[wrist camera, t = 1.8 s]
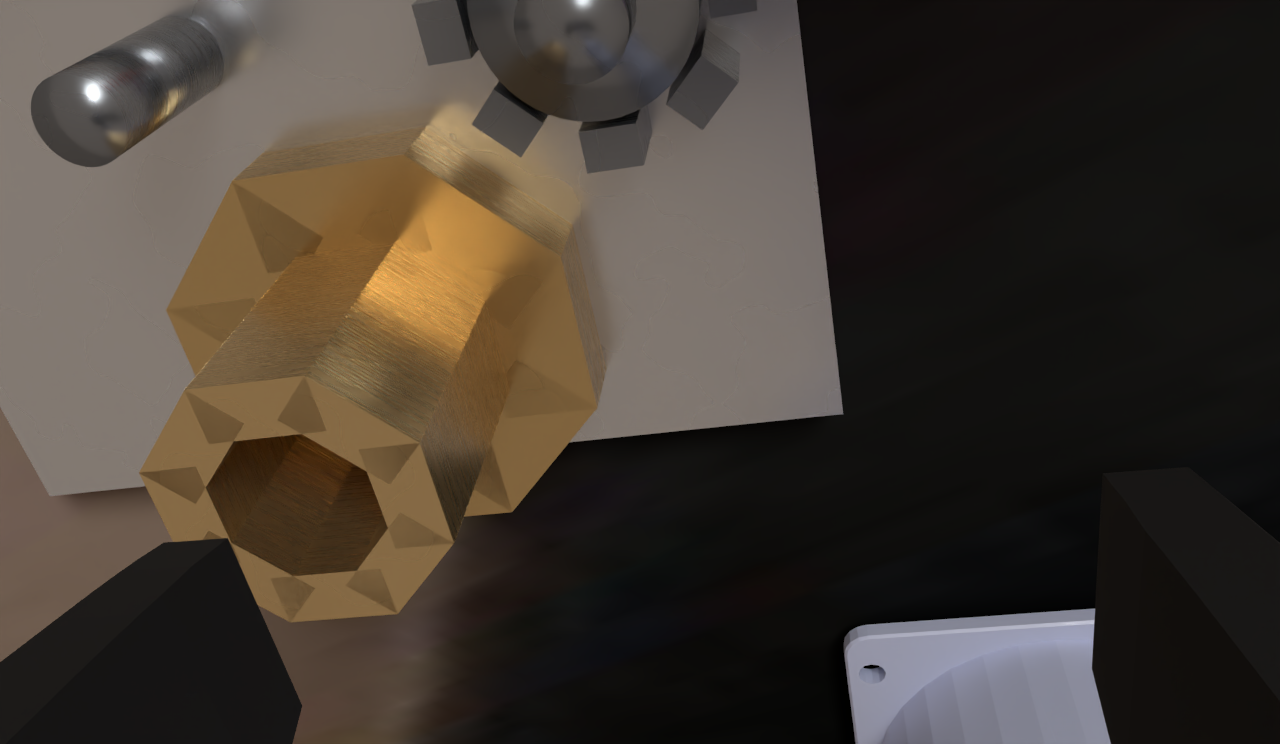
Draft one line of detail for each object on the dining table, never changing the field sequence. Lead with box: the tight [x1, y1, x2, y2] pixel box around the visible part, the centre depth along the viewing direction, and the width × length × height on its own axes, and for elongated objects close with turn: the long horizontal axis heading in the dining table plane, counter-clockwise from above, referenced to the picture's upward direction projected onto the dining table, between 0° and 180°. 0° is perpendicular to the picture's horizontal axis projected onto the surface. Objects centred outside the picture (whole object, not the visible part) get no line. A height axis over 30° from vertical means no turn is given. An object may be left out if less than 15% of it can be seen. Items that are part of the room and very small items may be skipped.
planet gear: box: [139, 127, 606, 622], centre depth 16 cm, size 6×6×5 cm
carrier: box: [0, 0, 843, 496], centre depth 15 cm, size 15×15×4 cm
